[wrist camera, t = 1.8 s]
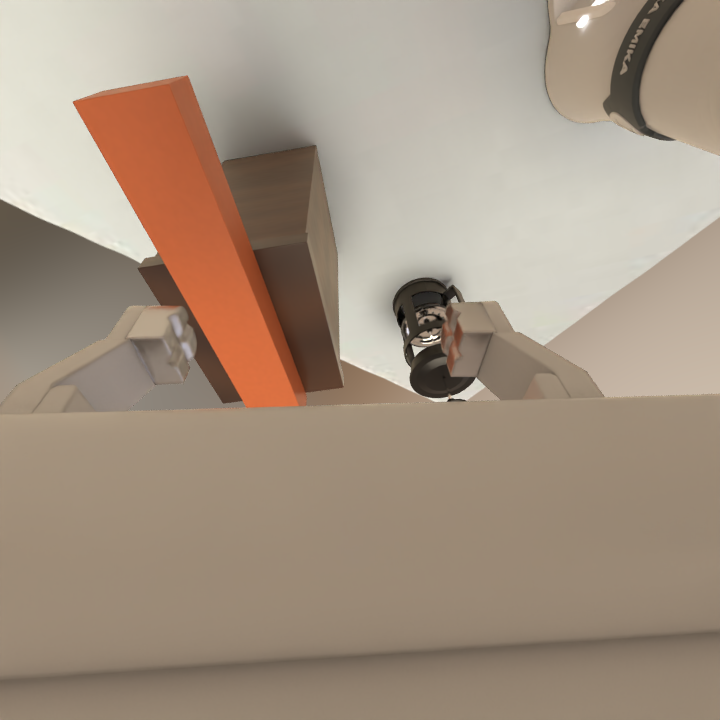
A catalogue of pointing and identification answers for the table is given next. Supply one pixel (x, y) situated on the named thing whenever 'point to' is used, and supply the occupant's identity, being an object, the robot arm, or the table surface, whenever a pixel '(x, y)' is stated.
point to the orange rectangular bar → (195, 229)
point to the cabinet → (279, 264)
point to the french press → (427, 339)
